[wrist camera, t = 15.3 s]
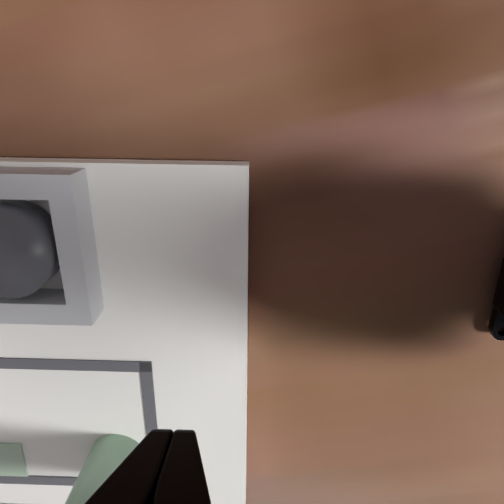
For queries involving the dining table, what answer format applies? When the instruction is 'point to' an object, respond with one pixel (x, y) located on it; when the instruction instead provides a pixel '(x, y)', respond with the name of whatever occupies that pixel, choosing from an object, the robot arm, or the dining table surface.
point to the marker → (100, 465)
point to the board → (127, 320)
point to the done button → (25, 248)
